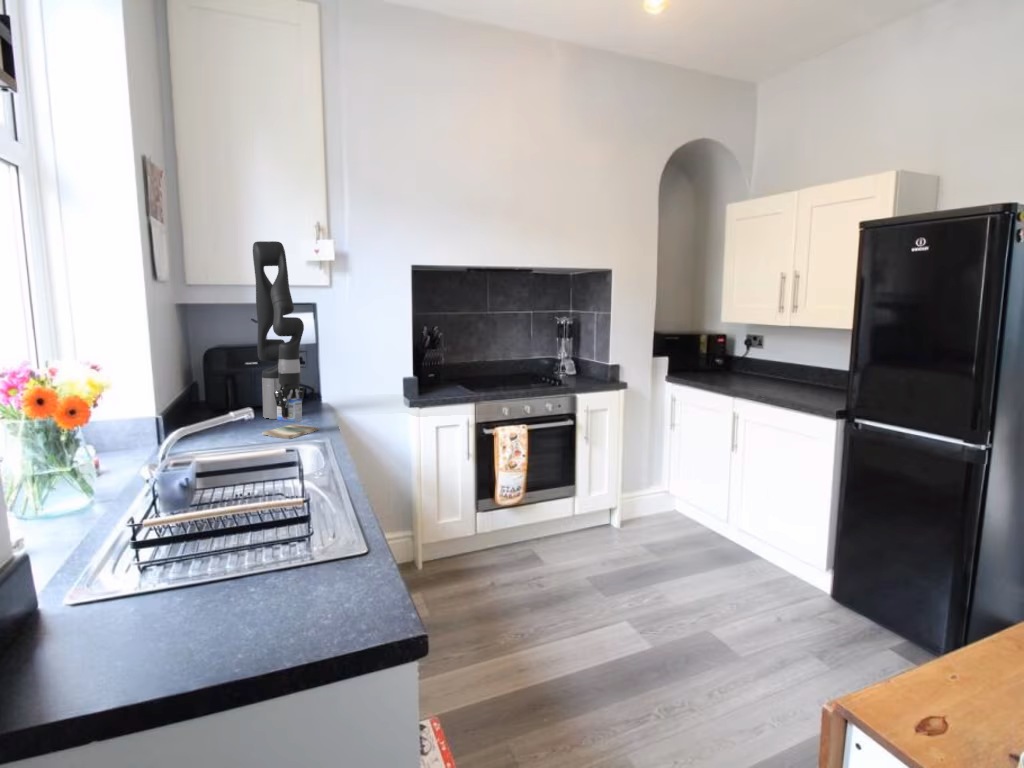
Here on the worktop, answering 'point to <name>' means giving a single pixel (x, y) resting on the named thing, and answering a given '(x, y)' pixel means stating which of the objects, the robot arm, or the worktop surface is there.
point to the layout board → (290, 431)
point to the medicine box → (291, 411)
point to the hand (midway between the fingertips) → (290, 416)
